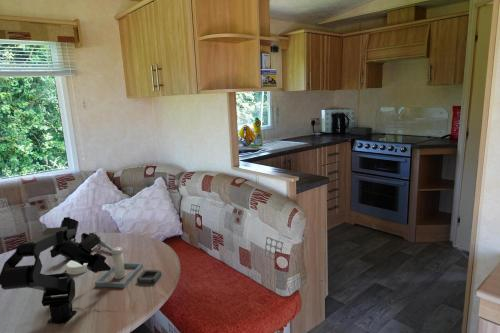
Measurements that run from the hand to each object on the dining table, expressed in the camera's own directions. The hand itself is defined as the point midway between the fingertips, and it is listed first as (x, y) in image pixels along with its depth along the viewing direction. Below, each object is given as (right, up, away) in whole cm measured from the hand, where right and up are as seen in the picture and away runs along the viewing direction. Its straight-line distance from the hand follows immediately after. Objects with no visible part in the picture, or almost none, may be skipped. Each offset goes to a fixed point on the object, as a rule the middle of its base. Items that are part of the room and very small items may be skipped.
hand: (103, 265), depth 134 cm
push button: (-26, -4, +25) cm, 36 cm away
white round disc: (-17, -6, +16) cm, 24 cm away
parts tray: (+4, -7, +7) cm, 10 cm away
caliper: (-10, -3, +32) cm, 33 cm away
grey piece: (+17, -7, +4) cm, 19 cm away
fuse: (+4, -6, +7) cm, 10 cm away
